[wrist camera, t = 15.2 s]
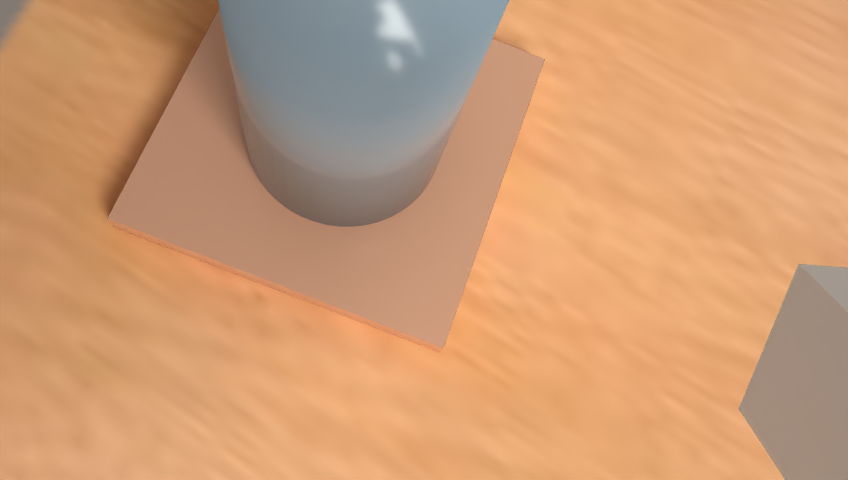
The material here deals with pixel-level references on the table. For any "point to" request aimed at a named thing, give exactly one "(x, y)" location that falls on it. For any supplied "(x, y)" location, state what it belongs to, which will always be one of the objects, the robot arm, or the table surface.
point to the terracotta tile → (314, 242)
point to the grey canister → (352, 96)
